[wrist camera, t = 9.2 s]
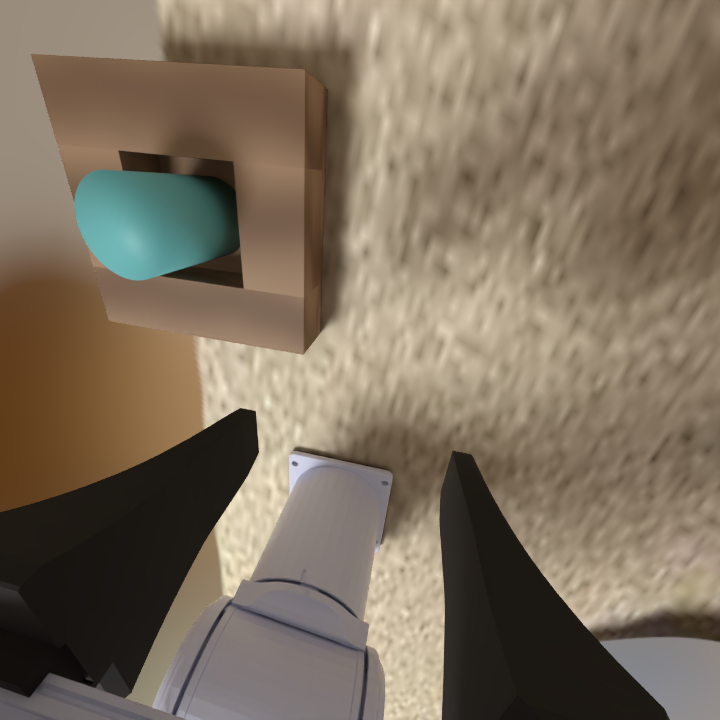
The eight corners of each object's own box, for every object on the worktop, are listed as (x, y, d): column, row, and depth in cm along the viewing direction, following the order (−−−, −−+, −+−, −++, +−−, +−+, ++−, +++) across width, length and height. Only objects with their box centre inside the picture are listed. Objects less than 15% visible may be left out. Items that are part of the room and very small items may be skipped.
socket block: (320, 333, 21) (303, 354, 18) (147, 305, 22) (109, 321, 20) (327, 89, 15) (304, 69, 12) (94, 74, 17) (30, 54, 14)
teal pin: (249, 261, 19) (174, 288, 14) (185, 249, 19) (90, 271, 14) (246, 181, 17) (158, 177, 12) (175, 171, 18) (61, 163, 12)
